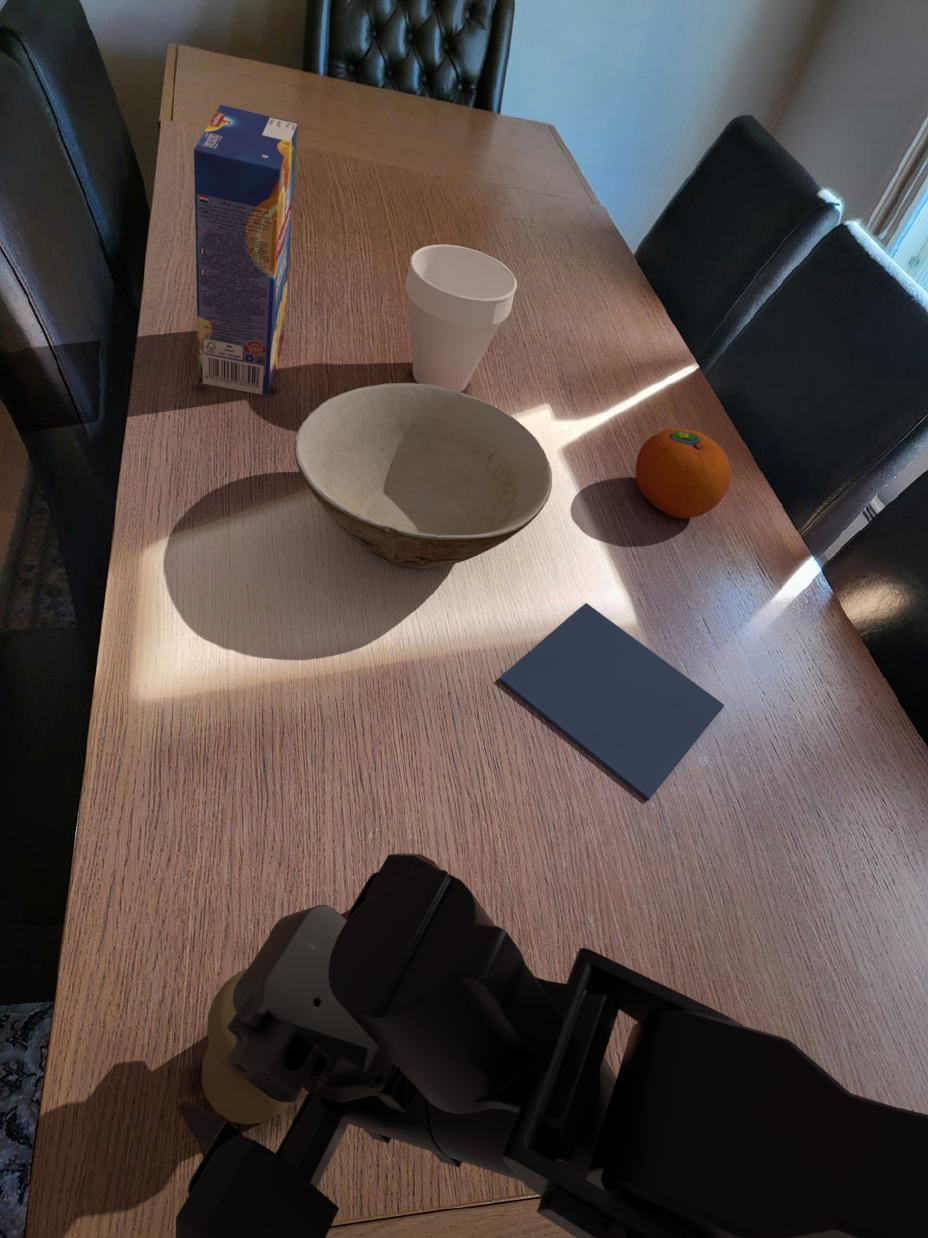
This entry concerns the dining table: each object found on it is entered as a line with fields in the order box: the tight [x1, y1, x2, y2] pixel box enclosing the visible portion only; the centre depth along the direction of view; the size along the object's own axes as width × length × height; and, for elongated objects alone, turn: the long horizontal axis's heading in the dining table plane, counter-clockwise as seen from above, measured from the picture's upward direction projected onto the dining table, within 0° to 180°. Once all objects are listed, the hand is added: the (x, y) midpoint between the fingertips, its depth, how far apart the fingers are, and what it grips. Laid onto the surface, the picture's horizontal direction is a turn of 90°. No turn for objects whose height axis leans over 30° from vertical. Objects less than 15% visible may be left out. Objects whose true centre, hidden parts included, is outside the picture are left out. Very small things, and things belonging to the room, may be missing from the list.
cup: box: [404, 244, 518, 393], centre depth 96 cm, size 12×12×14 cm
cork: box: [200, 967, 293, 1126], centre depth 45 cm, size 6×6×11 cm
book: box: [498, 602, 725, 802], centre depth 74 cm, size 16×14×1 cm
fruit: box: [635, 428, 732, 519], centre depth 92 cm, size 11×10×8 cm
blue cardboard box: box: [193, 104, 299, 397], centre depth 86 cm, size 12×8×24 cm, turn 0°
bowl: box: [293, 382, 553, 569], centre depth 79 cm, size 24×24×10 cm
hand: (239, 1021), depth 44 cm, fingers open, 9 cm apart
